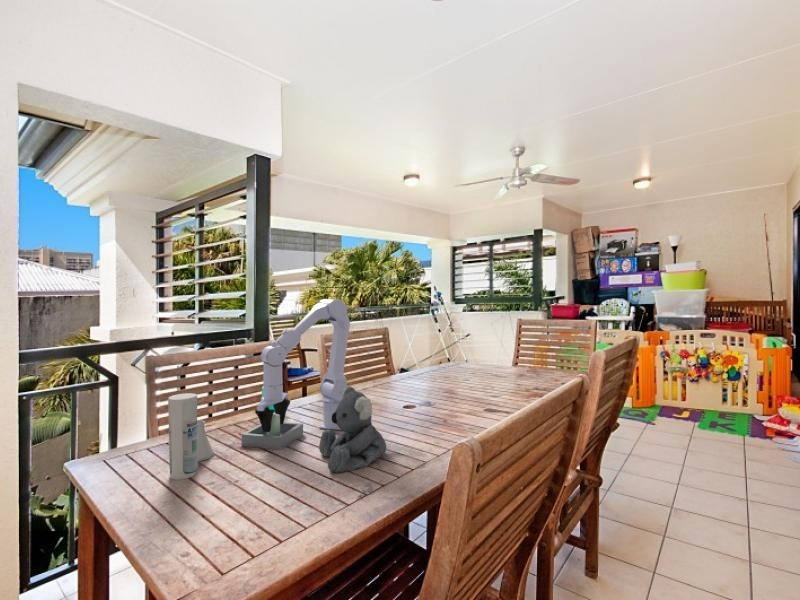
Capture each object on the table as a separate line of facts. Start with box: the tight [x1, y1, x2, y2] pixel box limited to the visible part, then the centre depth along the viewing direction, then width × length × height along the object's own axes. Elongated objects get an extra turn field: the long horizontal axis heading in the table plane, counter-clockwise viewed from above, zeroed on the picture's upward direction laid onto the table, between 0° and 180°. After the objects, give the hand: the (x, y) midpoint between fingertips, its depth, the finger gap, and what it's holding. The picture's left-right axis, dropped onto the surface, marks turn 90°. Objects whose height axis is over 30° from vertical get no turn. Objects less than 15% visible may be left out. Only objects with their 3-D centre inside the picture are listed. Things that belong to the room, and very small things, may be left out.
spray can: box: [167, 392, 199, 481], centre depth 103 cm, size 6×6×20 cm
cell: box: [267, 413, 280, 436], centre depth 127 cm, size 4×4×8 cm
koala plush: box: [318, 385, 387, 473], centre depth 112 cm, size 17×18×20 cm
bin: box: [241, 421, 304, 451], centre depth 127 cm, size 13×13×4 cm
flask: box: [197, 420, 215, 462], centre depth 114 cm, size 7×7×10 cm
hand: (273, 427), depth 127 cm, fingers open, 7 cm apart
